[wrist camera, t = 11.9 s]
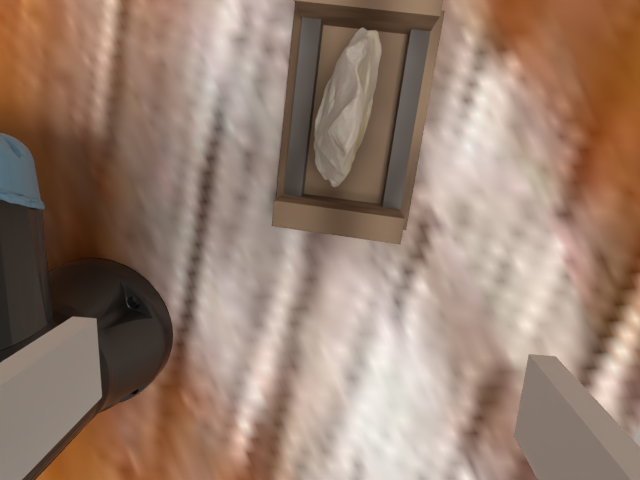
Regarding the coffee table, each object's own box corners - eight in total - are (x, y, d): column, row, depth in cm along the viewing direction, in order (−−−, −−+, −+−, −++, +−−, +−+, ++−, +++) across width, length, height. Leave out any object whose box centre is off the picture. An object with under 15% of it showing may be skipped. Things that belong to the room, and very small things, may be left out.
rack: (277, 209, 41) (259, 224, 34) (298, -1, 36) (282, -34, 29) (404, 227, 40) (413, 246, 33) (441, 15, 36) (461, -15, 29)
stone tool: (339, 43, 36) (327, -23, 21) (382, 51, 36) (399, -10, 21) (315, 174, 38) (289, 196, 24) (355, 182, 38) (353, 209, 24)
